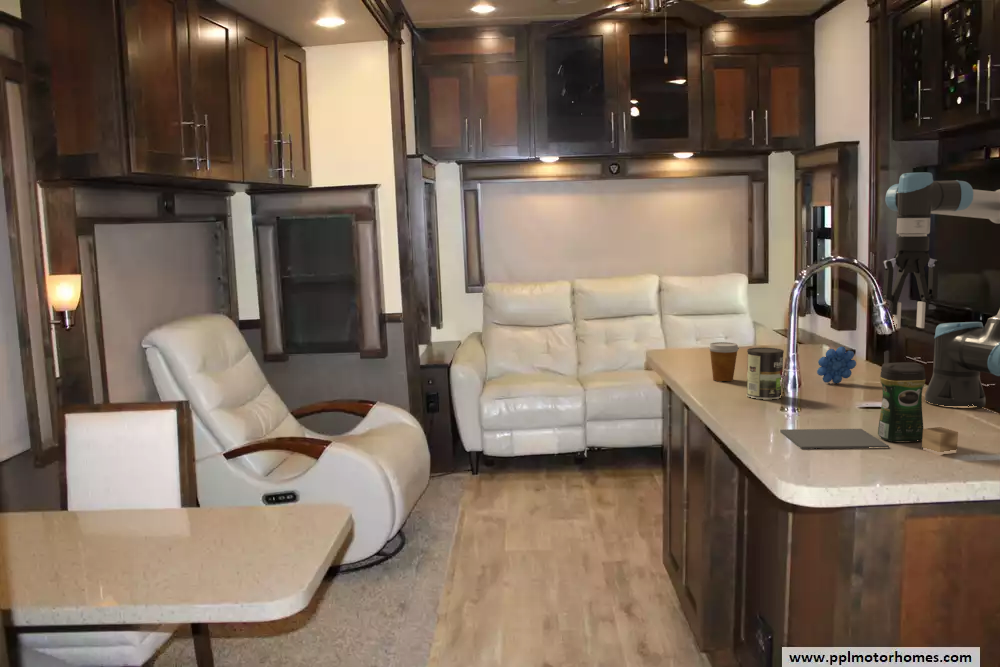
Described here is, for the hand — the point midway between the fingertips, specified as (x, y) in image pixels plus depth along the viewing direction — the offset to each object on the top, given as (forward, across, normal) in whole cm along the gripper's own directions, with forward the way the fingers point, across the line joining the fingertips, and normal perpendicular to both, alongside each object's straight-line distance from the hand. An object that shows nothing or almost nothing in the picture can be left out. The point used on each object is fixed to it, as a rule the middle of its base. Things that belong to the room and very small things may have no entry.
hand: (908, 327), depth 217 cm
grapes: (+25, +2, +53) cm, 59 cm away
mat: (+25, -24, -16) cm, 38 cm away
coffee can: (+25, -26, +34) cm, 50 cm away
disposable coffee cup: (+25, -32, +60) cm, 72 cm away
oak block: (+25, -4, -27) cm, 37 cm away
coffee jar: (+25, -8, -16) cm, 31 cm away
